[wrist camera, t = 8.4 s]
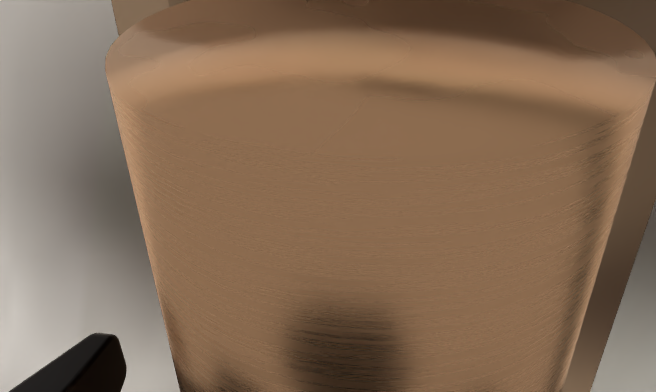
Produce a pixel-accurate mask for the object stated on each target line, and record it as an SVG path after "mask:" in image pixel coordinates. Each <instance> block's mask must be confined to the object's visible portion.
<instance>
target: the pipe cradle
mask: <svg viewBox="0 0 656 392" xmlns="http://www.w3.org/2000/svg"><path fill="white" fill-rule="evenodd" d="M111 1H112V6H113V11H114V15H115V20H116V25H117V29H118V34H119V36H120V35H121V34H122V33H124V32H125V31H126V30H127V29H129V28H130V27H131V26H133V25H134V24H136V23H138V22H139V21H141V20H143V19H145V18H146V17H148V16H150V15H153V14H155V13H157V12H159V11H161V10H164V9H166V8H169V7H172V6H174V5H177V4H180V3H183V2H186V1H189V0H111ZM566 1H569V2H573V3H576V4H579V5H582V6H585V7H587V8H590V9H593V10H595V11H598V12H600V13H602V14H604V15H607V16H609V17H611V18H613V19H615V20H617V21H619V22H620V23H622V24H624V25H625V26H627V27H628V28H630V29H632V30H633V31H634V32H636V33H637V34H638V35H639V36H640V37H641V38H643V39H644V40H645V41H646V42H647V44H648V45H649V46H650V48H651V49H652V50H653V52H654V54H655V57H656V0H566ZM655 199H656V81H655V84H654V88H653V91H652V94H651V98H650V101H649V104H648V108H647V111H646V114H645V118H644V121H643V124H642V127H641V131H640V134H639V137H638V141H637V144H636V147H635V151H634V154H633V157H632V161H631V164H630V167H629V171H628V174H627V177H626V181H625V184H624V187H623V190H622V194H621V197H620V200H619V204H618V207H617V210H616V214H615V217H614V220H613V224H612V227H611V230H610V234H609V237H608V240H607V243H606V247H605V250H604V253H603V257H602V260H601V263H600V267H599V270H598V273H597V277H596V280H595V283H594V287H593V290H592V293H591V296H590V300H589V303H588V306H587V310H586V313H585V316H584V320H583V323H582V326H581V330H580V333H579V336H578V340H577V343H576V346H575V350H574V353H573V356H572V359H571V363H570V366H569V369H568V373H567V376H566V379H565V383H564V386H563V389H562V392H590V390H591V387H592V384H593V381H594V378H595V375H596V372H597V369H598V366H599V363H600V361H601V358H602V355H603V352H604V349H605V346H606V343H607V340H608V337H609V334H610V331H611V328H612V325H613V322H614V319H615V317H616V314H617V311H618V308H619V305H620V302H621V299H622V296H623V293H624V290H625V287H626V284H627V281H628V278H629V276H630V273H631V270H632V267H633V264H634V261H635V258H636V255H637V252H638V249H639V246H640V243H641V240H642V237H643V234H644V232H645V229H646V226H647V223H648V220H649V217H650V214H651V211H652V208H653V205H654V202H655Z"/></svg>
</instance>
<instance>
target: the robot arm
mask: <svg viewBox="0 0 656 392" xmlns="http://www.w3.org/2000/svg"><path fill="white" fill-rule="evenodd" d="M125 377H126V363H125V359H124V356H123V352H122V349H121V346H120V342H119V339H118V338H117V337H116V336H115V335H113V334H104V333H94V334H91V335H89V336H88V337H86V338H85V339H84V340H82V341H81V342H79V343H78V344H76V345H75V346H73V347H72V348H71V349H69V350H68V351H66V352H65V353H63V354H62V355H61V356H59V357H58V358H56V359H55V360H53V361H52V362H50V363H49V364H48V365H46V366H45V367H43V368H42V369H40V370H39V371H38V372H36V373H35V374H33V375H32V376H30V377H29V378H28V379H26V380H25V381H23V382H22V383H20V384H19V385H17V386H16V387H15V388H13V389H12V390H10V391H9V392H120V391H121V389H122V386H123V383H124V380H125Z"/></svg>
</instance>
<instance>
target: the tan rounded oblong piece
mask: <svg viewBox="0 0 656 392" xmlns="http://www.w3.org/2000/svg"><path fill="white" fill-rule="evenodd" d="M105 71H106V76H107V80H108V84H109V88H110V93H111V97H112V101H113V105H114V110H115V114H116V118H117V123H118V127H119V131H120V135H121V140H122V144H123V148H124V152H125V157H126V161H127V165H128V170H129V174H130V178H131V182H132V187H133V191H134V195H135V200H136V204H137V208H138V212H139V217H140V221H141V225H142V229H143V234H144V238H145V242H146V247H147V251H148V255H149V259H150V264H151V268H152V272H153V276H154V281H155V285H156V289H157V294H158V298H159V302H160V306H161V311H162V315H163V319H164V323H165V328H166V332H167V336H168V341H169V345H170V349H171V353H172V358H173V362H174V366H175V371H176V375H177V379H178V383H179V388H180V392H562V389H563V386H564V383H565V379H566V376H567V373H568V369H569V366H570V363H571V359H572V356H573V353H574V350H575V346H576V343H577V340H578V336H579V333H580V330H581V326H582V323H583V320H584V316H585V313H586V310H587V306H588V303H589V300H590V296H591V293H592V290H593V287H594V283H595V280H596V277H597V273H598V270H599V267H600V263H601V260H602V257H603V253H604V250H605V247H606V243H607V240H608V237H609V234H610V230H611V227H612V224H613V220H614V217H615V214H616V210H617V207H618V204H619V200H620V197H621V194H622V190H623V187H624V184H625V181H626V177H627V174H628V171H629V167H630V164H631V161H632V157H633V154H634V151H635V147H636V144H637V141H638V137H639V134H640V131H641V127H642V124H643V121H644V118H645V114H646V111H647V108H648V104H649V101H650V98H651V94H652V91H653V88H654V84H655V81H656V57H655V54H654V52H653V50H652V49H651V48H650V46H649V45H648V44H647V42H646V41H645V40H644V39H643V38H641V37H640V36H639V35H638V34H637V33H636V32H634V31H633V30H632V29H630V28H628V27H627V26H625V25H624V24H622V23H620V22H619V21H617V20H615V19H613V18H611V17H609V16H607V15H604V14H602V13H600V12H598V11H595V10H593V9H590V8H587V7H585V6H582V5H579V4H576V3H573V2H569V1H566V0H189V1H186V2H183V3H180V4H177V5H174V6H172V7H169V8H166V9H164V10H161V11H159V12H157V13H155V14H153V15H150V16H148V17H146V18H145V19H143V20H141V21H139V22H138V23H136V24H134V25H133V26H131V27H130V28H129V29H127V30H126V31H125V32H124V33H122V34H121V35H120V36H119V37H118V38H117V39H116V40H115V42H114V43H113V44H112V45H111V46H110V49H109V51H108V53H107V56H106V59H105Z"/></svg>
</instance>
